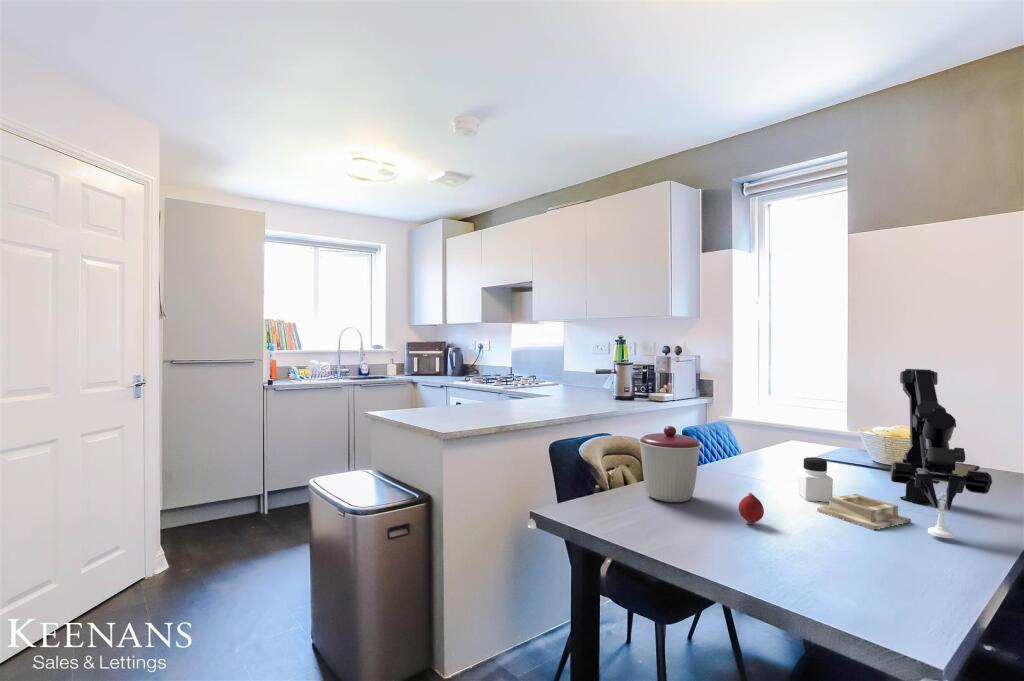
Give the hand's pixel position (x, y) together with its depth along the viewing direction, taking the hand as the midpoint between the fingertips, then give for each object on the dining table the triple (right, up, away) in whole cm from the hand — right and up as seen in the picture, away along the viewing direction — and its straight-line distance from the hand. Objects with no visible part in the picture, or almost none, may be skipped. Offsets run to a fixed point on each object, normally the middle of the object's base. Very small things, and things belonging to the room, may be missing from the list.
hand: (942, 508), depth 122 cm
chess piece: (+1, -7, +1) cm, 7 cm away
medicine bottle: (-12, -8, +32) cm, 35 cm away
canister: (-56, -7, +30) cm, 64 cm away
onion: (-41, -7, +9) cm, 43 cm away
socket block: (-8, -7, +16) cm, 19 cm away
